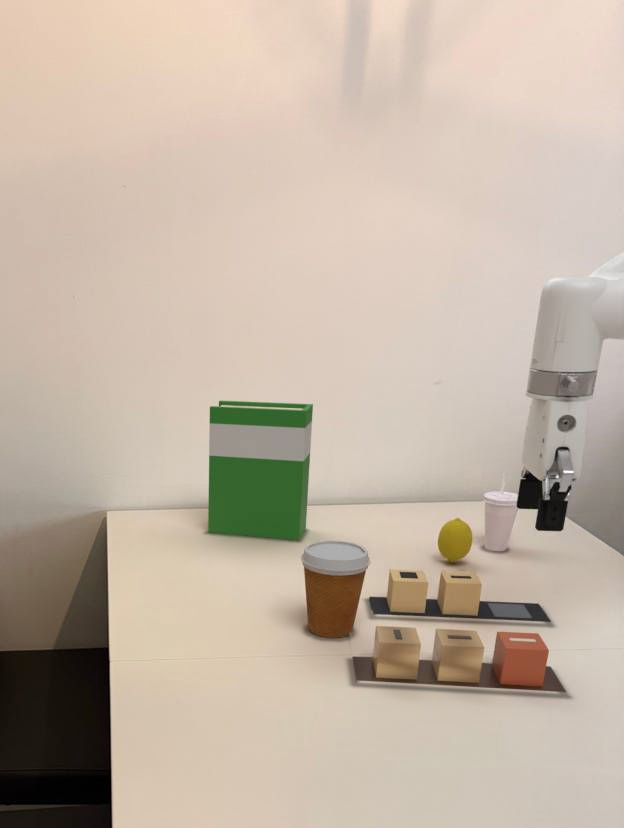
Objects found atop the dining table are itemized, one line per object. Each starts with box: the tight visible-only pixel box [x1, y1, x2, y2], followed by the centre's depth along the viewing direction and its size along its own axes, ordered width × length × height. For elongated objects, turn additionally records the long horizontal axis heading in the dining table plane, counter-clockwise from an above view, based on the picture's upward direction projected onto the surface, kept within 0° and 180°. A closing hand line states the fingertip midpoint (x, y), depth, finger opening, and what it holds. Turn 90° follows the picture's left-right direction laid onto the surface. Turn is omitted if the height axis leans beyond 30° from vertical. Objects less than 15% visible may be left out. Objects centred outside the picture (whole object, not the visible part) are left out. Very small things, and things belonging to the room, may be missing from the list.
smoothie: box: [482, 470, 519, 552], centre depth 154 cm, size 6×6×14 cm
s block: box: [491, 631, 550, 687], centre depth 108 cm, size 5×5×5 cm
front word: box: [352, 625, 567, 693], centre depth 110 cm, size 25×7×6 cm, turn 81°
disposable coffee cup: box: [300, 540, 371, 639], centre depth 122 cm, size 10×10×12 cm
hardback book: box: [207, 400, 314, 541], centre depth 164 cm, size 18×7×24 cm, turn 71°
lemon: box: [437, 517, 473, 564], centre depth 148 cm, size 6×6×8 cm
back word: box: [368, 568, 552, 623], centre depth 129 cm, size 25×7×6 cm, turn 81°
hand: (538, 519), depth 113 cm, fingers open, 9 cm apart
